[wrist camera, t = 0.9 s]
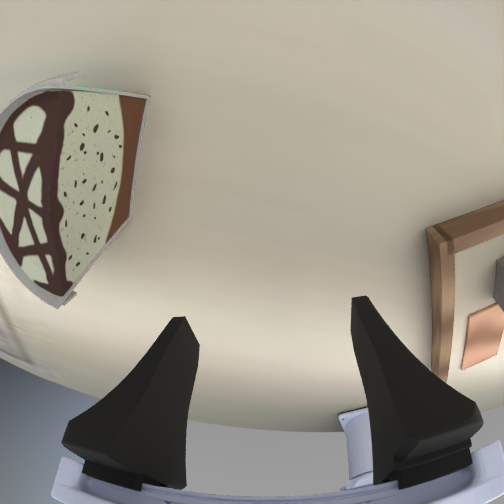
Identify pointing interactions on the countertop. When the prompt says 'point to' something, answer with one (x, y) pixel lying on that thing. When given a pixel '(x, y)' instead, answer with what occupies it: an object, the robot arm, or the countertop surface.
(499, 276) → the sage block
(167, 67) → the countertop surface
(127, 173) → the food container
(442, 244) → the arena
